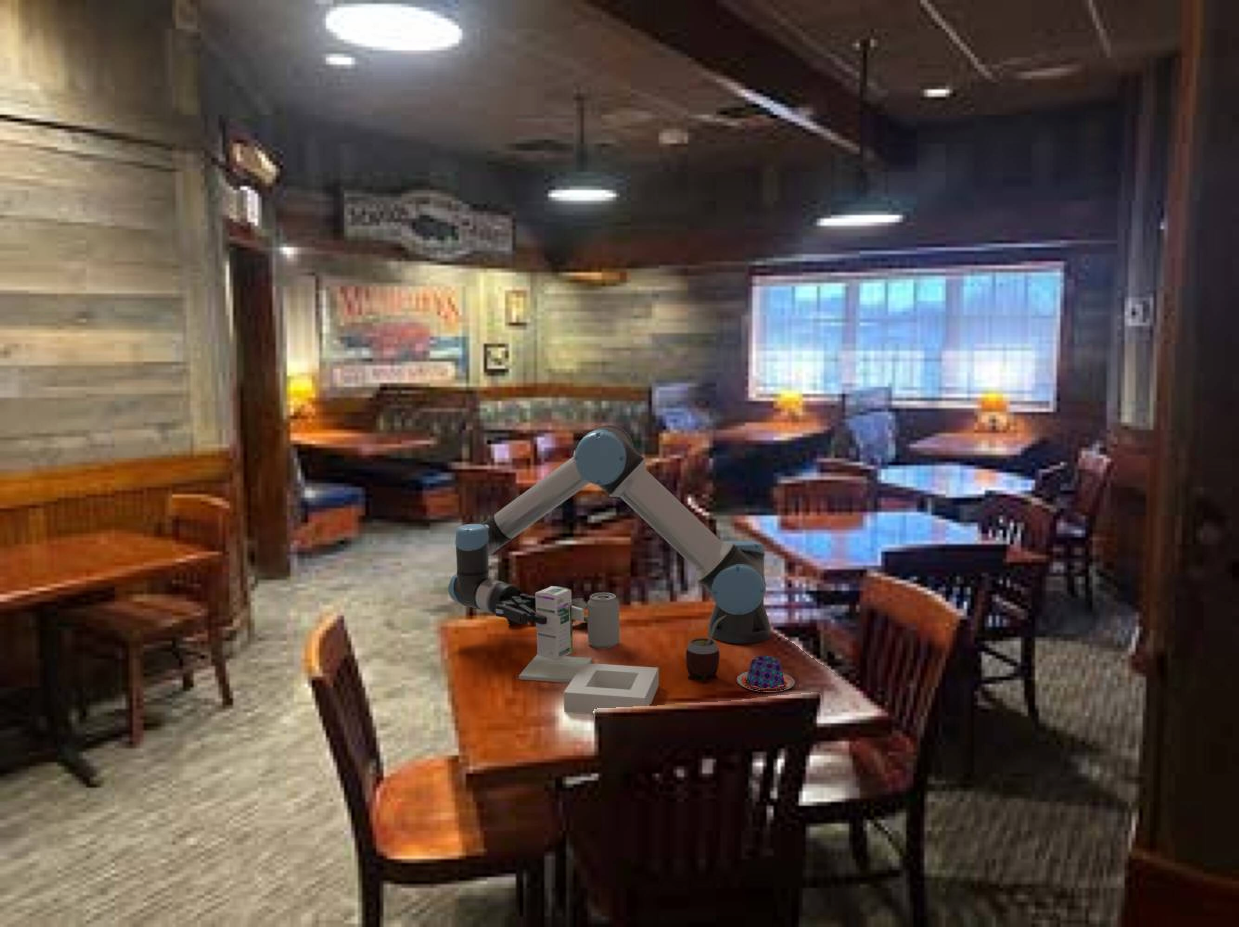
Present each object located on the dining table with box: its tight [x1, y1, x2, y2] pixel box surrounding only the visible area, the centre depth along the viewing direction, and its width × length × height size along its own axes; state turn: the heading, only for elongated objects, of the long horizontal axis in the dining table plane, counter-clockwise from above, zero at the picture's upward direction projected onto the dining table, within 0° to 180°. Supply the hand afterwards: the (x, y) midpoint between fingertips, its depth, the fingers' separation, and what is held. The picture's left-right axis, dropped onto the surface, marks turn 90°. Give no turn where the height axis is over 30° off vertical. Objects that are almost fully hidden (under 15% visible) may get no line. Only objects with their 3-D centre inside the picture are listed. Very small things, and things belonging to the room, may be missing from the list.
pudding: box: [736, 655, 796, 693], centre depth 188 cm, size 12×12×5 cm
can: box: [586, 592, 620, 649], centre depth 212 cm, size 8×8×12 cm
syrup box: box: [534, 585, 574, 660], centre depth 195 cm, size 6×6×14 cm
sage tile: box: [518, 654, 593, 684], centre depth 197 cm, size 13×13×1 cm
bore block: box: [563, 662, 659, 715], centre depth 181 cm, size 16×16×4 cm
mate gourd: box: [685, 615, 727, 685], centre depth 190 cm, size 8×8×15 cm
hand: (570, 619), depth 192 cm, fingers closed on syrup box, 6 cm apart
